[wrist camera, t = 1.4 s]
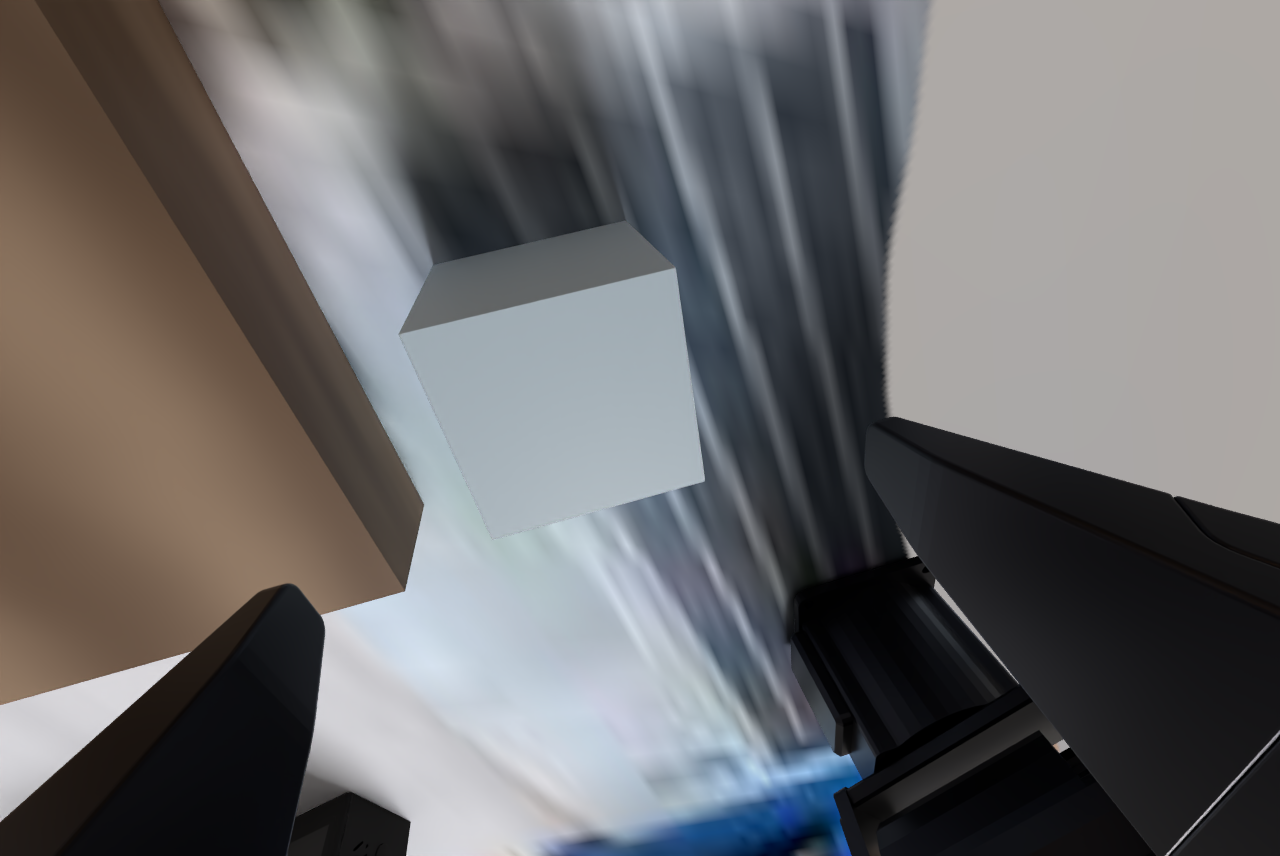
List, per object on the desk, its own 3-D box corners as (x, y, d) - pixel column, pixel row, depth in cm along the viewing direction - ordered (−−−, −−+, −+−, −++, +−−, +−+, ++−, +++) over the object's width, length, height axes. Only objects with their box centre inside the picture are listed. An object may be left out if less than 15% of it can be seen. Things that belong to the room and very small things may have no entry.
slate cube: (625, 220, 14) (676, 267, 10) (655, 386, 16) (705, 481, 12) (433, 263, 13) (398, 334, 9) (497, 427, 16) (492, 540, 12)
